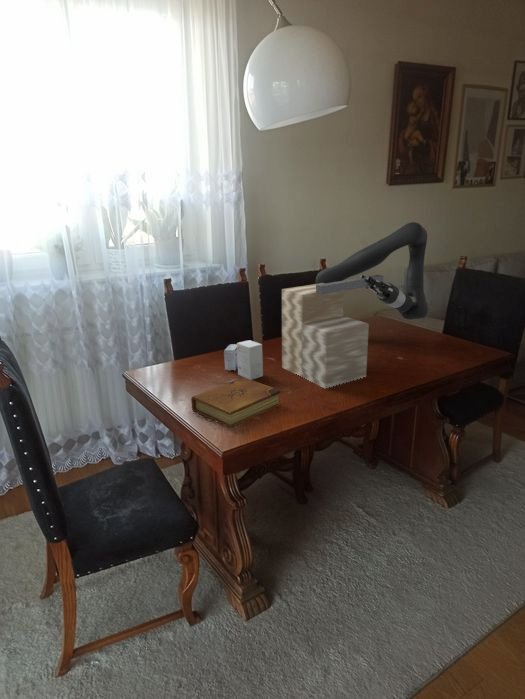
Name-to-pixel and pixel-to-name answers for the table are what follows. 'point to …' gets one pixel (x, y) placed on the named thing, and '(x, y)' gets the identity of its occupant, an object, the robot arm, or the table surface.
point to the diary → (236, 401)
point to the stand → (321, 337)
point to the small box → (250, 359)
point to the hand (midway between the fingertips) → (364, 278)
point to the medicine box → (231, 357)
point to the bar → (345, 285)
